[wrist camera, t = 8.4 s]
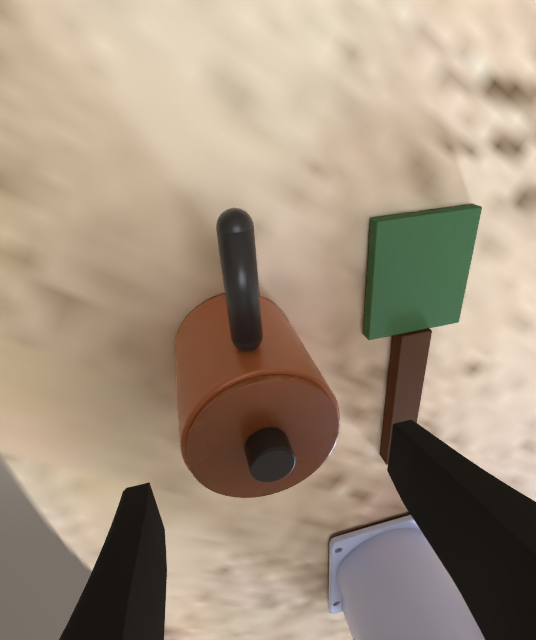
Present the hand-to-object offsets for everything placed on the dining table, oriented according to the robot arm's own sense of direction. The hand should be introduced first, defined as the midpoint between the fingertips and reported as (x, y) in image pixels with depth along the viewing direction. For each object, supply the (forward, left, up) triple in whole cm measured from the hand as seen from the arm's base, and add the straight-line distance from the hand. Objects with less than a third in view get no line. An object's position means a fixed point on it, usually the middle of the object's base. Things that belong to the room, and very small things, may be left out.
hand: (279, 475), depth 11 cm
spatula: (-2, -8, -7) cm, 11 cm away
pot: (+2, 0, -7) cm, 7 cm away
